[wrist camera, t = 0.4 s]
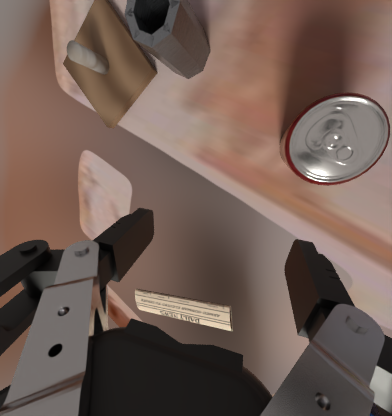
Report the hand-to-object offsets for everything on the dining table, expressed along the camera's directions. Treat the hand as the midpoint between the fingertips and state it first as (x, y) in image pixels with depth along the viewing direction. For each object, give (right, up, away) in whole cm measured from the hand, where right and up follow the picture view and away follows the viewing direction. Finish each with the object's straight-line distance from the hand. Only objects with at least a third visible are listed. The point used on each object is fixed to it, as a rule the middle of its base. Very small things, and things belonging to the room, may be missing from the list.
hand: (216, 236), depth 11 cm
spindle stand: (-16, +26, +22) cm, 38 cm away
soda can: (+14, +10, +15) cm, 23 cm away
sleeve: (-2, +25, +17) cm, 30 cm away
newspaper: (-4, -22, +34) cm, 40 cm away
